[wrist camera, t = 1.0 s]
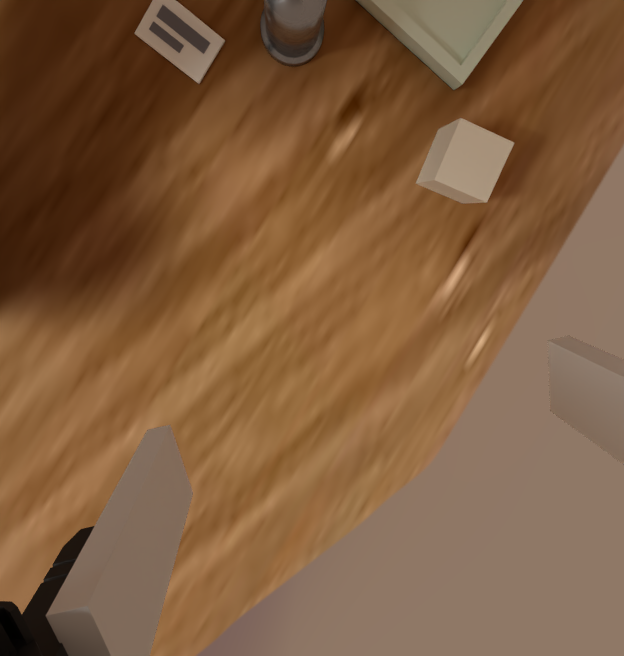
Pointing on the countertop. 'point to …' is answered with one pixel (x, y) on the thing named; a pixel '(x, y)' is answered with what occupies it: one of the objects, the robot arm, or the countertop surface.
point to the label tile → (180, 37)
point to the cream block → (464, 162)
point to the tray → (445, 30)
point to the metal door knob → (292, 29)
